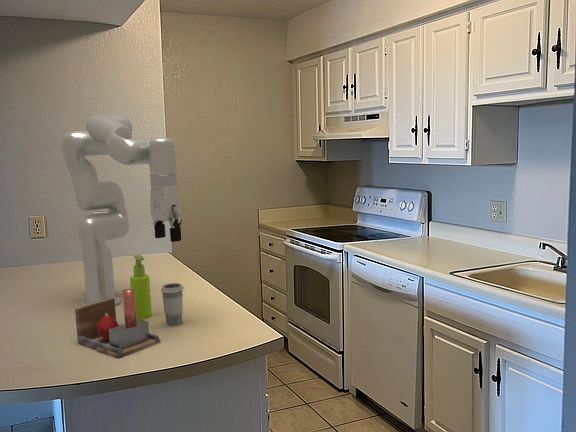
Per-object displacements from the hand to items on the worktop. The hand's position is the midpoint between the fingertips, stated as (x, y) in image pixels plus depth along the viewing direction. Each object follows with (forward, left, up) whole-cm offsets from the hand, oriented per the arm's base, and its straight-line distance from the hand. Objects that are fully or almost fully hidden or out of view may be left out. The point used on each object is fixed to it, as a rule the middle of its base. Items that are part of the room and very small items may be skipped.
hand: (168, 239), depth 165 cm
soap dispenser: (-17, +2, -27) cm, 32 cm away
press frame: (-4, -17, -27) cm, 32 cm away
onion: (-8, -17, -27) cm, 33 cm away
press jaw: (+2, -17, -26) cm, 31 cm away
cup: (-3, +3, -27) cm, 27 cm away
